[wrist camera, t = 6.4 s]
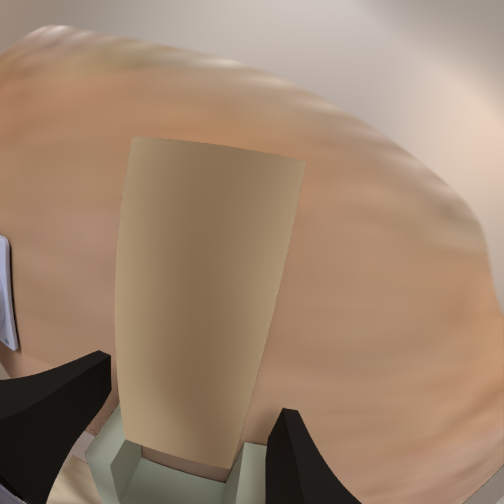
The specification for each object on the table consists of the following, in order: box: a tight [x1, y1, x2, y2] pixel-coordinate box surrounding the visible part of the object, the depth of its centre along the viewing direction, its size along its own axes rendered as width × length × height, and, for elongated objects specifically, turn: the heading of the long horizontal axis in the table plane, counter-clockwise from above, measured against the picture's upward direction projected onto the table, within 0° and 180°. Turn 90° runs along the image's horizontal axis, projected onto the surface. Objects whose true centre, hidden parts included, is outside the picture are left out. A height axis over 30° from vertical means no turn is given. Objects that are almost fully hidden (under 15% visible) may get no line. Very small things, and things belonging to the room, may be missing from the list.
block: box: [85, 403, 267, 504], centre depth 12 cm, size 9×8×4 cm
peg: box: [114, 136, 306, 470], centre depth 9 cm, size 4×10×5 cm, turn 169°
